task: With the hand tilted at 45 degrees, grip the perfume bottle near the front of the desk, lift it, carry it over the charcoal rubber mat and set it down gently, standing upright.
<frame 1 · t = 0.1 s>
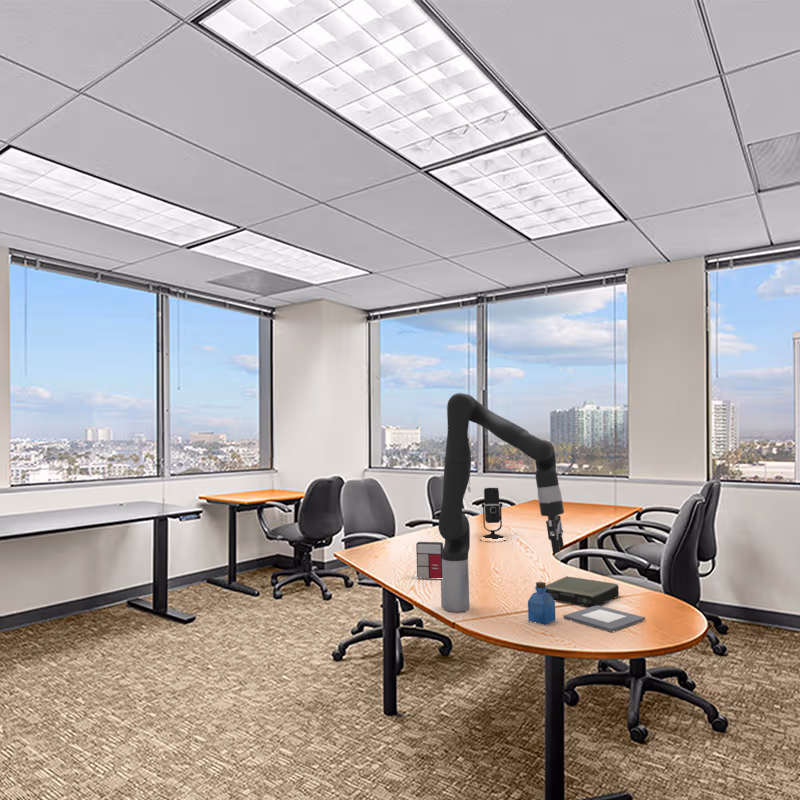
hand: (558, 549, 194), 22 cm above the table, tool pointing down, fingers open, 8 cm apart
grey and red box: (430, 579, 252), on the table
microphone: (493, 540, 342), on the table
network switch: (580, 599, 218), on the table
perfume bottle: (542, 621, 192), on the table
mat: (603, 619, 192), on the table
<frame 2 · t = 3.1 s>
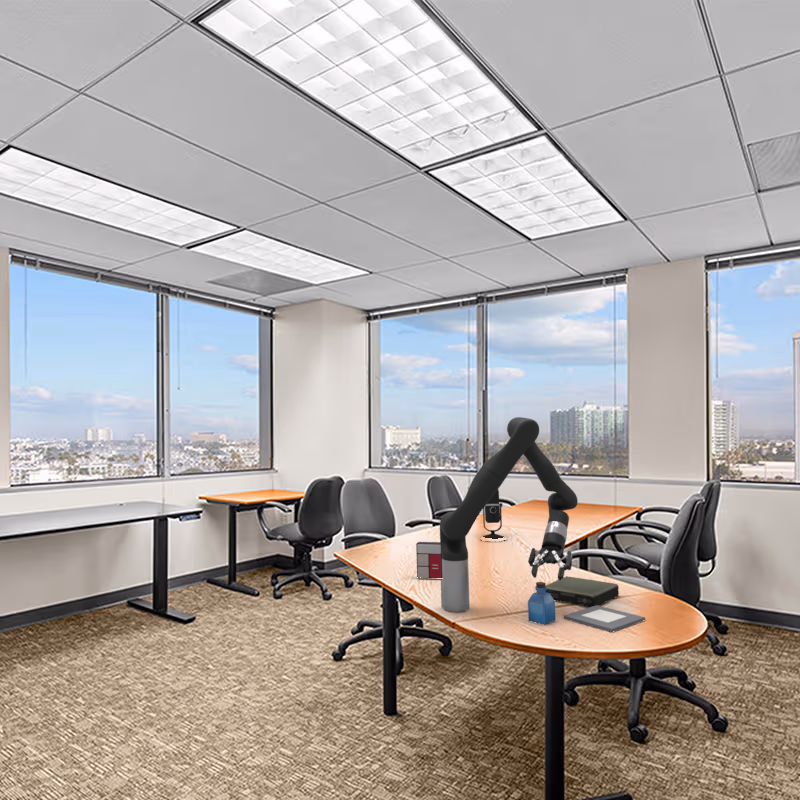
hand: (546, 577, 199), 12 cm above the table, tool tilted 45°, fingers open, 8 cm apart
nothing on the table moved.
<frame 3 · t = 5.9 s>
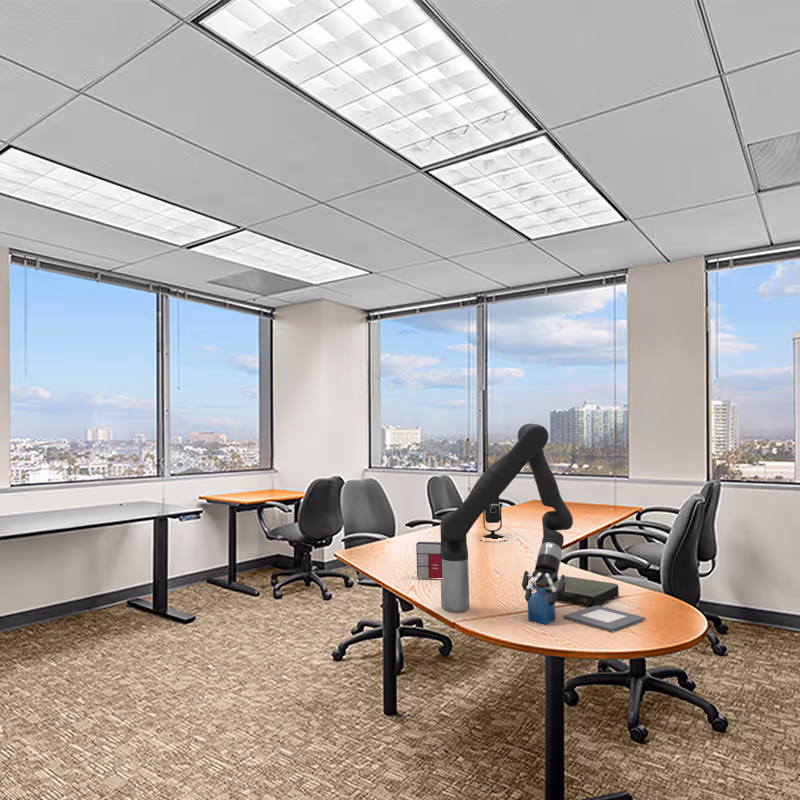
hand: (539, 602, 191), 6 cm above the table, tool tilted 45°, fingers closed on perfume bottle, 7 cm apart
perfume bottle: (541, 621, 192), on the table, touching gripper
everything else where it was.
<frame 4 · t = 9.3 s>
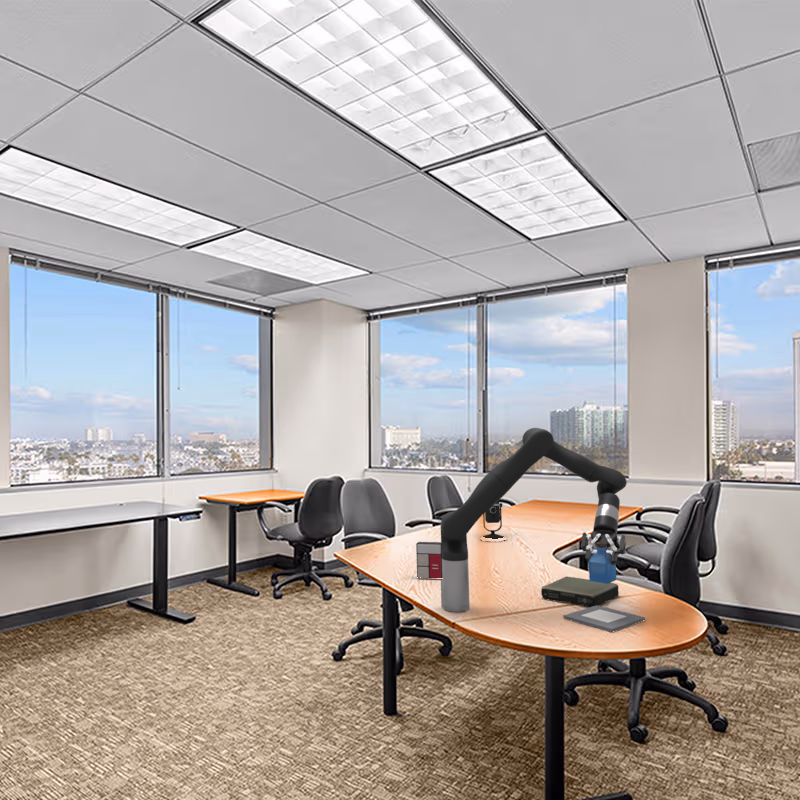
hand: (600, 562, 192), 18 cm above the table, tool tilted 45°, fingers closed on perfume bottle, 7 cm apart
perfume bottle: (603, 581, 193), point 12 cm above the table, touching gripper
everything else where it was.
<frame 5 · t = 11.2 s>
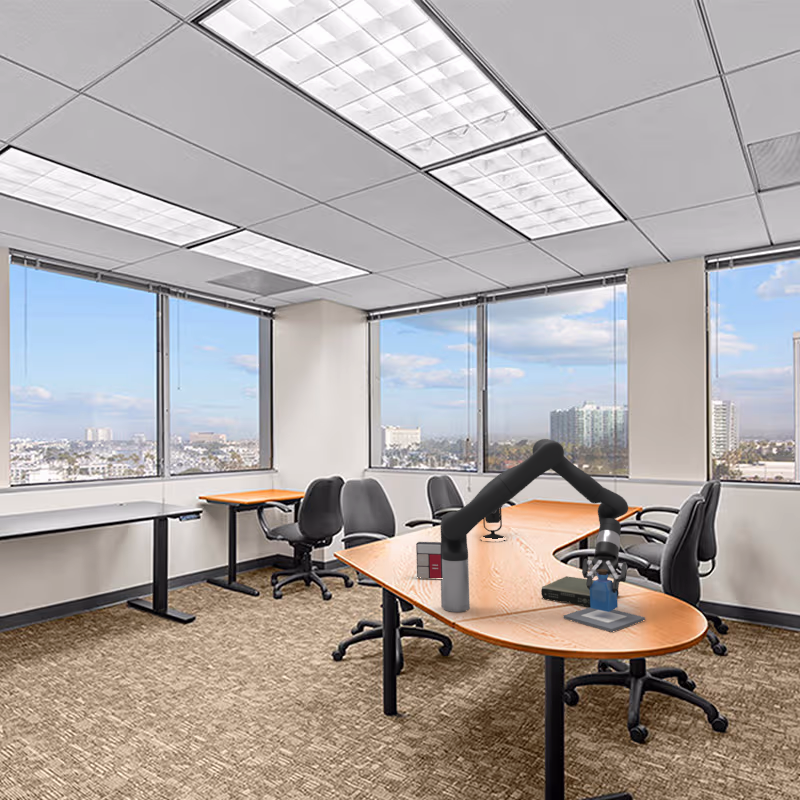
hand: (601, 589, 192), 10 cm above the table, tool tilted 45°, fingers closed on perfume bottle, 7 cm apart
perfume bottle: (604, 608, 193), point 3 cm above the table, touching gripper
everything else where it was.
when the fingers open (8 cm above the table, at t = 12.7 s): perfume bottle stays where it is, resting on mat.
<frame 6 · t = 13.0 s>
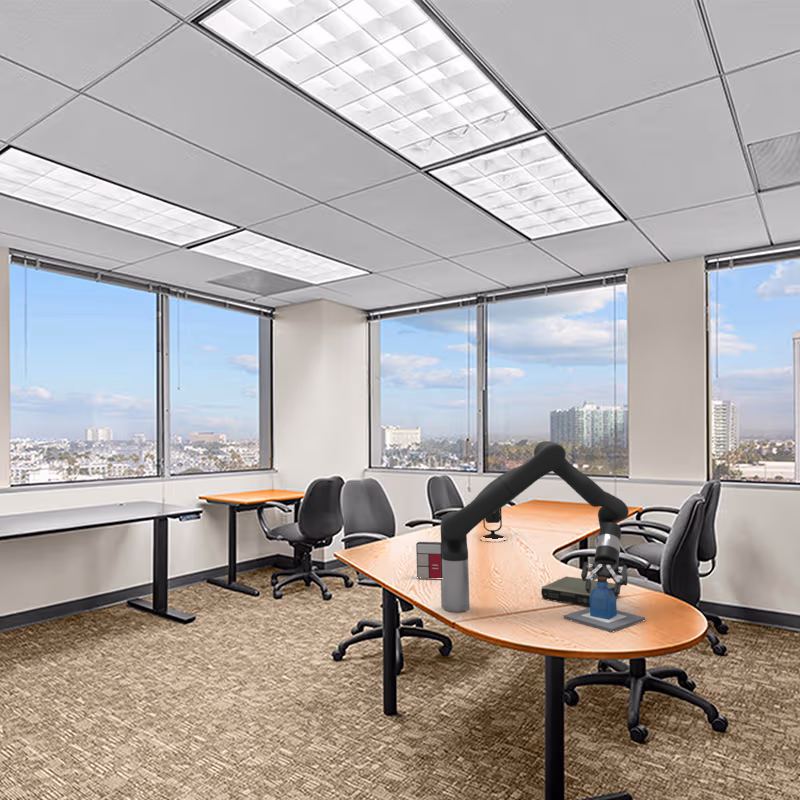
hand: (601, 593, 192), 9 cm above the table, tool tilted 45°, fingers open, 8 cm apart
perfume bottle: (603, 616, 192), point 1 cm above the table, touching mat
everything else where it was.
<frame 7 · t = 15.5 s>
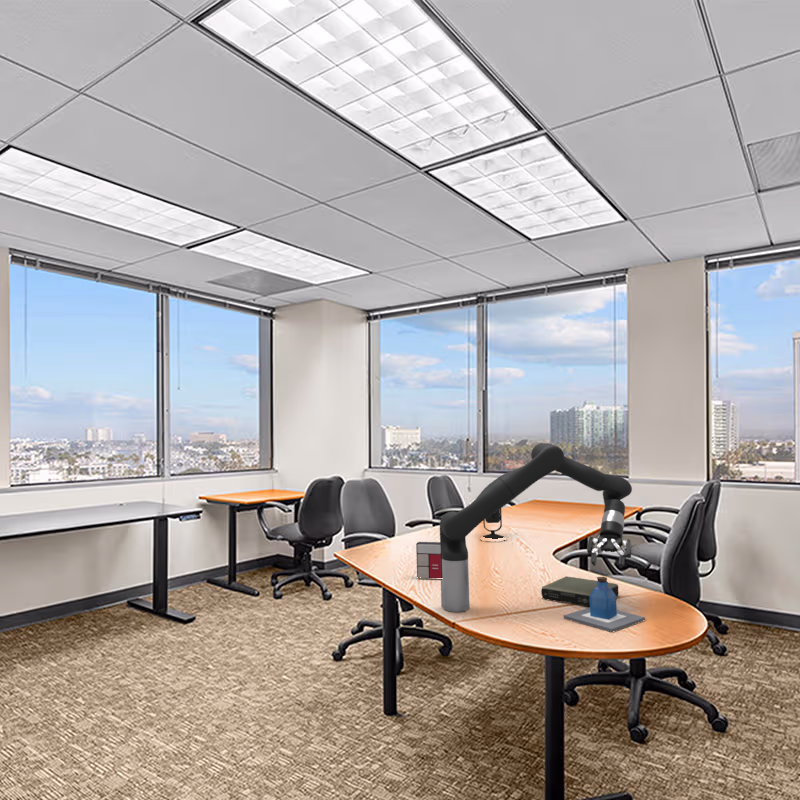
hand: (606, 565, 200), 16 cm above the table, tool tilted 45°, fingers open, 8 cm apart
nothing on the table moved.
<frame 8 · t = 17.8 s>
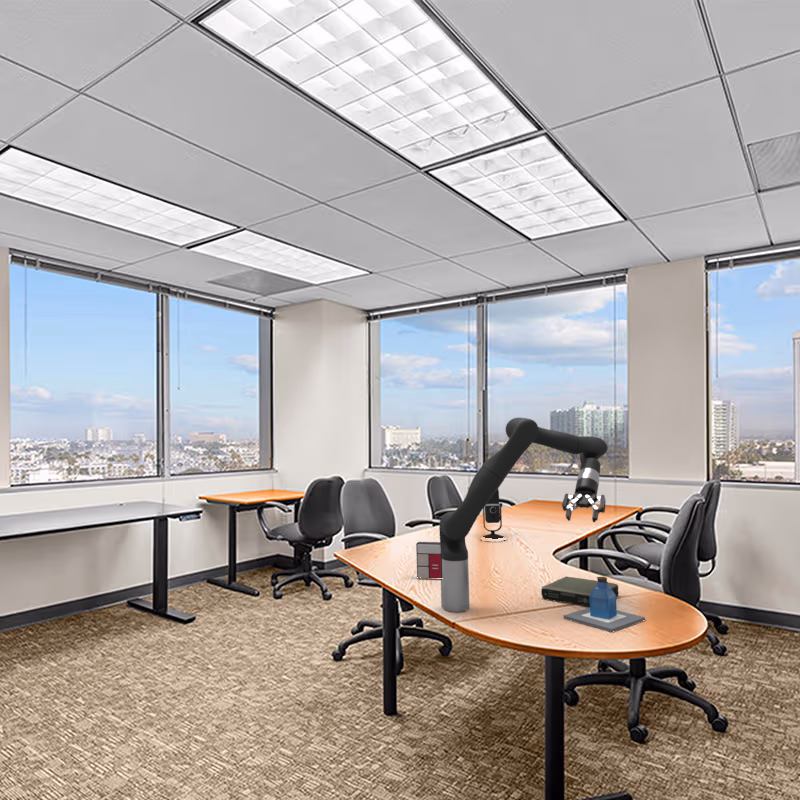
hand: (580, 519, 203), 31 cm above the table, tool tilted 45°, fingers open, 8 cm apart
nothing on the table moved.
at the end: perfume bottle inside the target area on the mat (0.2 cm from its centre), point 1.0 cm above the mat's base; perfume bottle tilted 0°; the gripper is holding nothing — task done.
